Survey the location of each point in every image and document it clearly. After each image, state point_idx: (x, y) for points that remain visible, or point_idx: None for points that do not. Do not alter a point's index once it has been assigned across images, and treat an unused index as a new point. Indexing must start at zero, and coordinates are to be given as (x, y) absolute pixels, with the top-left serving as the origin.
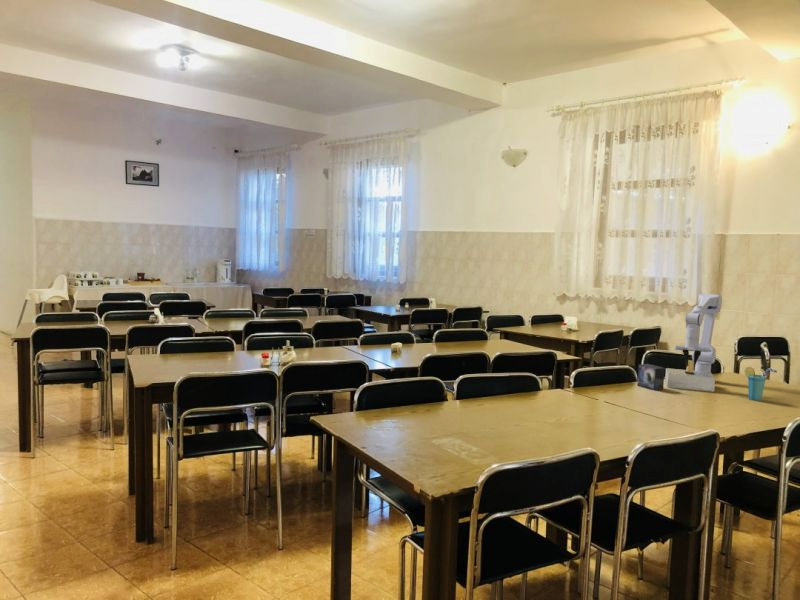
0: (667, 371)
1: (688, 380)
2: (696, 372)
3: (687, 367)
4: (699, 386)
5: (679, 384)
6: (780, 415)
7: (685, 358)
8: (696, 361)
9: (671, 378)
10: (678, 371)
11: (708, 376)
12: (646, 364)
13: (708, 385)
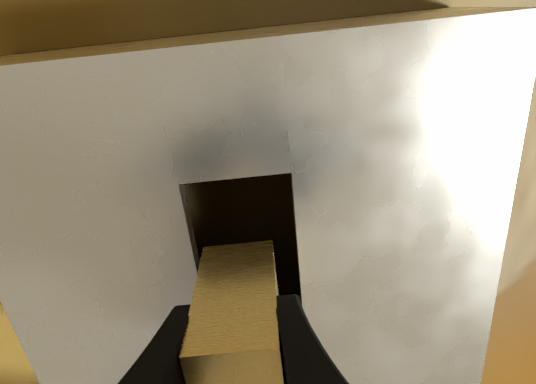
0: (511, 200)
1: (253, 34)
2: None
3: None
4: (136, 43)
5: (345, 20)
6: None
7: (347, 381)
8: (131, 367)
9: (464, 11)
10: (370, 279)
11: (6, 157)
12: None
13: (35, 55)
